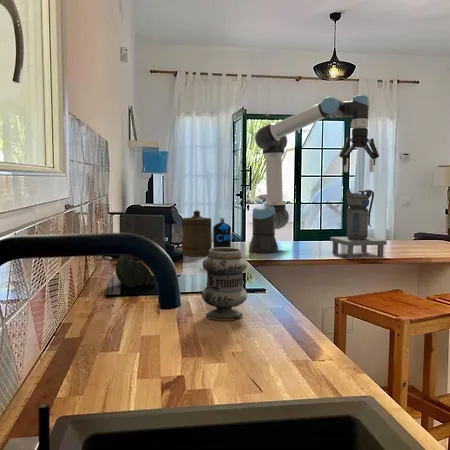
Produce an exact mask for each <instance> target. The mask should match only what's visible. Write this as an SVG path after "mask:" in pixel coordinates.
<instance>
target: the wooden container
mask: <svg viewBox="0 0 450 450" xmlns="http://www.w3.org/2000/svg"><path fill="white" fill-rule="evenodd" d="M181 222H182V224H181V247H182V248H181V252H182V251H183V255H182V256H185V257H208V254H209V250H210V249H211V248H213V247H212V246H213V239H212V238H213V237H212V236H213V235H212V218H210V217H202V216H201V211H200V210H194V211H193V215H192V216H191V217H183V218H181Z"/></svg>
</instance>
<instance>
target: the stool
mask: <svg viewBox="0 0 450 450" xmlns="http://www.w3.org/2000/svg"><path fill="white" fill-rule="evenodd" d="M329 238H330V239H329V241H330V242H332V254H339V244H340V245H343V246H347V251H346V254H347V255H346V257H347V259H353V258H354V246H356V247H359V246H361V249H360V251H361V253H367V252H368V249H367V248H368V246H377V251H376V252H377V255H376V256H377V257H378V258H384V249H385V248H384V246H387V244H388V243H387V242H388V240H384V239H381V238H376V237H375V238H374V237H371V236H368V237H367V238H366V239H363V240H355V239H349V238H347V236H330V237H329Z"/></svg>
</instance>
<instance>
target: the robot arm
mask: <svg viewBox="0 0 450 450" xmlns="http://www.w3.org/2000/svg"><path fill="white" fill-rule="evenodd" d="M369 103H370V101H369V97H368V96H367V95H363V94H362V95H359V94H358V95H354V96H353V97H352V100H348V101H341V100H339V99H338V98H336V97H334V96H327V97H324V98H323V100H322V101H321V102H319V103H317V104H314V105H313V106H311V107H309V108H306V109H304V110H302V111H300V112H297V113H295V114H293V115H291V116H289V117H287V118H285V119H283V120H280V121H278V122H276V123H274V122H271V123H269V124H266V125H264V126H262V127H260V128H259V129H258V130H257V131H256V133H255V134H254V135H255V136H254V141H255V144H256V146H257V147H258V148H260V149H261V150H262V155H263V156H264V157H265V170H266V171H265V177H266V181H265V183H266V185H265V186H266V202H265V203H264V205H261V206H256V207H254V208H253V209H252V214H251V215H252V235H251V236H252V237H251V240H250V243H249V246H248V252H251V253H258V254H260V253H261V254H270V253H277V252H279V246H278V243H277V239H276V237H275V236H276V233H275V232H276V230H280V229H283V228H284V227H285V226H287V224H288V222H289V221H290V215H289V212H288V210H287V207H286V206H287V205H286V203H285V202H284V200H283V196H284V195H283V159H282V158H283V156H284V155H285V148H287V145H288V138H287V136H288V135H290V134H292V133H295V132H297V131H299V130H300V129H303V128H306V127H308V126H310V125H312V124H315V123H317V122H319V121H321V120H323V119H326V118H328V117H329V118H330V119H331V118H332V119H338V118H348V117H351V118H352V120H351V124H352V125H351V128H352V129H351V138H350V137H346V138H345V142H344V145H343V146H342V148H341V151H340V152H339V155H338V157H340V158H341V159H342V166H343V173H348V172H349V156H350V154H351V153H352V152H353V151H354V149H355V148H356V149H357V148H360V149H363V150H365V152H366V153H367V155H368V156H369V157H370V158H369V169H368V170H369V171H368V172H369V173H374V171H375V170H374V166H375V165H376V159H377V158H379V157H380V154H379V152H378V149H377V147H376V145H375V140H374V138H373V137H372V138H368V137H369V128H368V127H369V111H370V110H369V109H370V108H369V107H370V105H369ZM350 143H352V144H351V145H350ZM368 144H369V145H368ZM349 146H350V147H349ZM369 146H370V147H369ZM348 147H349V148H348Z"/></svg>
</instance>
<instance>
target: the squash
mask: <svg viewBox="0 0 450 450" xmlns="http://www.w3.org/2000/svg"><path fill="white" fill-rule="evenodd" d="M114 269H115V275H116V277H117V279H118V281H119V282H120V284H122V285H123V286H124V287H125V286H126V287H131V288H135V287H138V285H139V286H141V285H145V286H152V285H154V284H155V283H154V279H153V277H152V275H151V273H150V272H149V270H148V269H147V268H146V267H145V266H144V265H143V264H142V263H141V262H139V261H137V260H134V259H132V258H128V257H123V256H121V255H120V256H119V257H118V258H117V261H116V263H115V268H114Z"/></svg>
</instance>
